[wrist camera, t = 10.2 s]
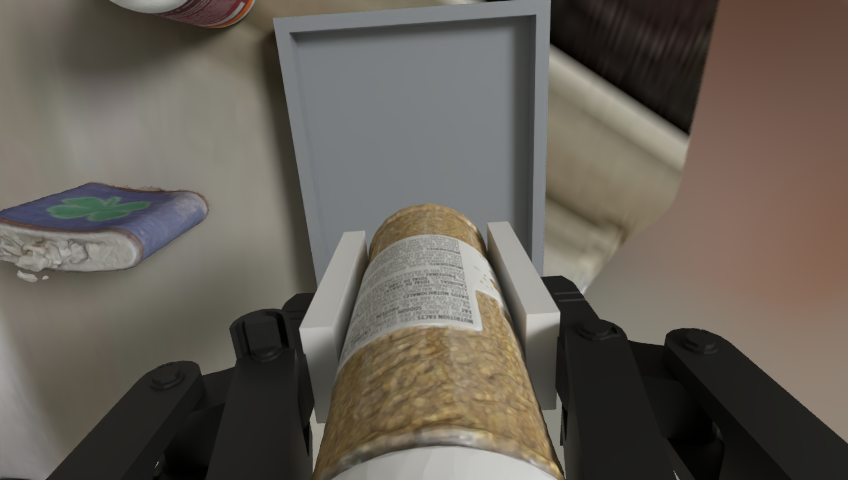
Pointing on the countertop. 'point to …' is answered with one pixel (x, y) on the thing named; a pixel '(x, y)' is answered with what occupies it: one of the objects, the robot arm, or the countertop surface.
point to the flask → (95, 227)
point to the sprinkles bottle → (433, 366)
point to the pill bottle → (193, 10)
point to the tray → (419, 117)
